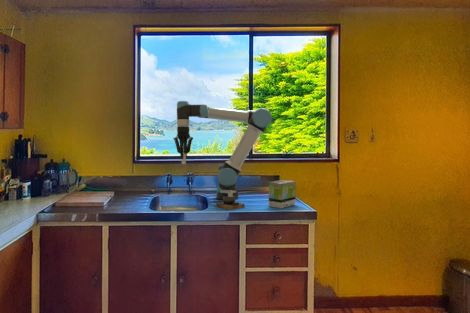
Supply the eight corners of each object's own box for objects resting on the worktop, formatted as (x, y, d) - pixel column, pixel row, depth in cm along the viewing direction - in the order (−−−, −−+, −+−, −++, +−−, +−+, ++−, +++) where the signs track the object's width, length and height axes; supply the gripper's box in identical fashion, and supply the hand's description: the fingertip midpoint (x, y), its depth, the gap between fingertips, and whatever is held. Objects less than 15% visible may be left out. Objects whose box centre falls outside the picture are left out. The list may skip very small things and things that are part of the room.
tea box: (282, 209, 202) (282, 183, 201) (268, 206, 208) (268, 182, 207) (296, 204, 213) (296, 180, 212) (282, 202, 220) (282, 179, 219)
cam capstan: (237, 202, 209) (237, 188, 208) (230, 204, 203) (230, 190, 202) (220, 200, 215) (220, 186, 215) (214, 202, 209) (213, 188, 209)
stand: (232, 204, 216) (232, 197, 216) (244, 207, 206) (244, 200, 206) (216, 206, 209) (216, 199, 208) (228, 210, 199) (227, 202, 199)
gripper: (189, 126, 225) (189, 163, 227) (171, 126, 217) (171, 164, 219) (195, 126, 219) (195, 163, 221) (176, 126, 211) (177, 165, 213)
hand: (183, 163), depth 220 cm, fingers closed
